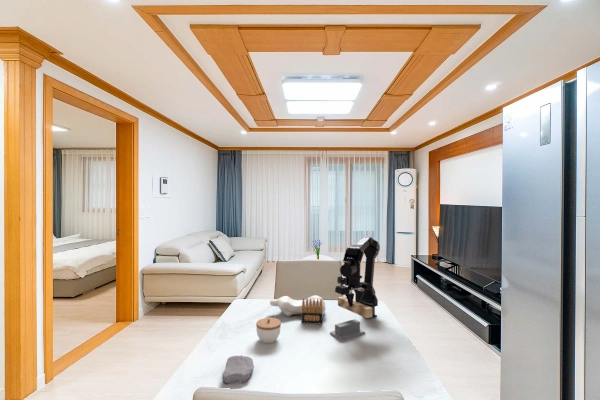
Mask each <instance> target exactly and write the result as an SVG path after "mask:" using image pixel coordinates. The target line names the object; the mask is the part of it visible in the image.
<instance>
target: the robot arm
mask: <svg viewBox="0 0 600 400" xmlns="http://www.w3.org/2000/svg"><path fill="white" fill-rule="evenodd" d="M380 248H381V246H380V243H379V242H378V240H375V239H374V238H373V237H372V236H365V235H364V236H361V239H360V240H359V241H357V243H355V244H351V245H349V246H347V247H346V249H345V253H344V255H343V259H342V261H343V263H344V264H342V265H341V266H340V268H339V271H340V272H339V273H340V274H341V275H340V276H337V284H340V285H336V286H335V288H334V292H335V293H337V294H339V295H341V296H345V297H346V298H347V300H348V303H349V306H350V307H352V304H353V300H354V299H355V300H354V301H356V302H359V303H361V304H364V305H366V306H369V307H371V308H372V317H370V318H367V319H373V318H376V317H377V316H378V315H377V314H376V307H378V306H379V305H378V304H379V299H378V298H377V295H376V290H375V287H374V274H375V264H376V263H375V261H376V258H377V257H378V255H379V252H380V250H381V249H380ZM363 256H365V269H364V277H363V275H361V263H362V261H363V258H364V257H363ZM363 278H364V279H363ZM361 279H363V280H364V281H361ZM354 296H355V297H354Z"/></svg>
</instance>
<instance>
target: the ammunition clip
mask: <svg viewBox="0 0 600 400" xmlns="http://www.w3.org/2000/svg"><path fill="white" fill-rule="evenodd" d="M302 300H303V301H302ZM302 300H301V301H302V314H301V320H300V321H301V324H321V325H323V324H324V323H323V321H324V320H323V315H324V314H323V308H322V300H320V307H319V302H318V299H317V302H316V307H315V299H314V300H313V307H312V301H311V299H310V302H309V307H308V299H307V298H306V299H304V298H302ZM304 300H306V307H305V301H304Z"/></svg>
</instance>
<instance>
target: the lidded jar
mask: <svg viewBox="0 0 600 400" xmlns="http://www.w3.org/2000/svg"><path fill="white" fill-rule="evenodd" d="M255 325H256V326H255V327H256V335H257V337H258V339H259V340H260V341H261V342H262V343H264V344H273V343H274V342H275V341H276V340H277V339H278V337H279V336H280V333H281V329H282V328H281V325H282V321H281V320H280V319H278V318H274V317H264V318H261V319H259V320H257V321H256V323H255Z"/></svg>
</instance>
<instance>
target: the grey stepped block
mask: <svg viewBox="0 0 600 400" xmlns="http://www.w3.org/2000/svg"><path fill="white" fill-rule="evenodd" d="M365 334H366V332H365V330H364V329H363V330H362V329H361V321H359V320H358V319H356V318H354V319H350V320H348V321H343V322H338V323H335V324H334V330H331V331H330V332H329V335H332V336H333V337H334V338H336V339H337V340H338V341H340V342H343V341H346V340H349V339H353V338H356V337H359V336H362V335H365Z"/></svg>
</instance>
